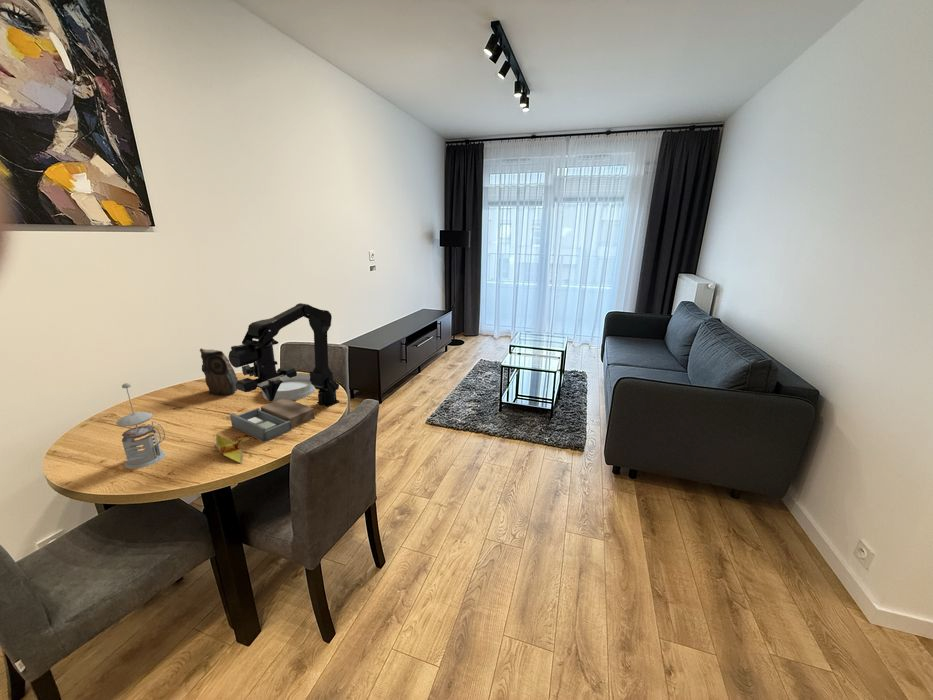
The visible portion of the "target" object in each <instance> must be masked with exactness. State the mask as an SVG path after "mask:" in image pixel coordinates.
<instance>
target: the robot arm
mask: <svg viewBox="0 0 933 700" xmlns="http://www.w3.org/2000/svg"><path fill="white" fill-rule="evenodd" d="M301 318H306V319H307V320H308V323H309V326H310V328H311V330H312V331H313V344H314V345H313V346H314V368H313V370H312V371H309V375H310V381H311V384H312V385H313V386H314V387H315V389H317V390H318V391H317V392H318V394H317V398H318V399H317V400H318V401H317V402H316V403H317V404H318V405H320V406H323V407H325V408H326V407H327V408H328V407H329V406H333V405H335V404H337V403H340V400H339V399H337V391H338V390H339V388H340V383H338V382H337V381H335V380H334V376H333V372H332V370H331V368H330V366H329V352H328V351H329V348H328V347H329V346H328V344H329V343H328V331H329V330H330V328H331V326H332V313H331V312H330V311H328V310H325V309H320V308H317V307H315V306H312V305H310V304H308V303H302V302H301V303H297V304H295V306H292V307H289V309H287V310H285V311H283V312H280V313H279V314H277V315H275V316H273V317H270V318H266V319H260V320H257V321H253V322H250V324H249V325H248V328H247V331H246V333H245V336H244V337H243V340H242V342H241V344H240V345H232V346H231V347H230V348H231V349H230V351H229V353H228V355H227V358H228V360H229V363H230V364H231V366H232V368H235V369H236V368H238V369H239V368H241V371H242V374H243V375H244V376H247V375H248V376H249V377H246V378H243V379H239V380H238V381H237V383H236V389H237V391H238V390H239V391H241V392H244V393H249V392H252V391H255V390H257V388H259V389H261V390H263V392H264V393H265V395H266V397H267V398H268V400H267V401H269V402H270V403H272V402H274V401H273V400H274V397H275V395H276V392H277V390H278V388H279V386H280V384H281V383H283V381H281V380H280V377H282V376H285V375H287V377H289V378H292V377H295V376H297V369H295V368H294V367H291V366H283V367H280V368H276V367H277V366H276V365H278V361H277V360H275V352H274V345H278V344H279V341H277V340H275V339H274V338H275V337H276V336H278V334H279V332H280V331H281V329H283V328H285V327H287V326H288V325H291V324H292V323H294V322H296V321H297V320H299V319H301ZM251 364H253V366H250V365H251ZM250 377H253V378H254V377H255V378H254V379H252V378H250Z"/></svg>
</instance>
